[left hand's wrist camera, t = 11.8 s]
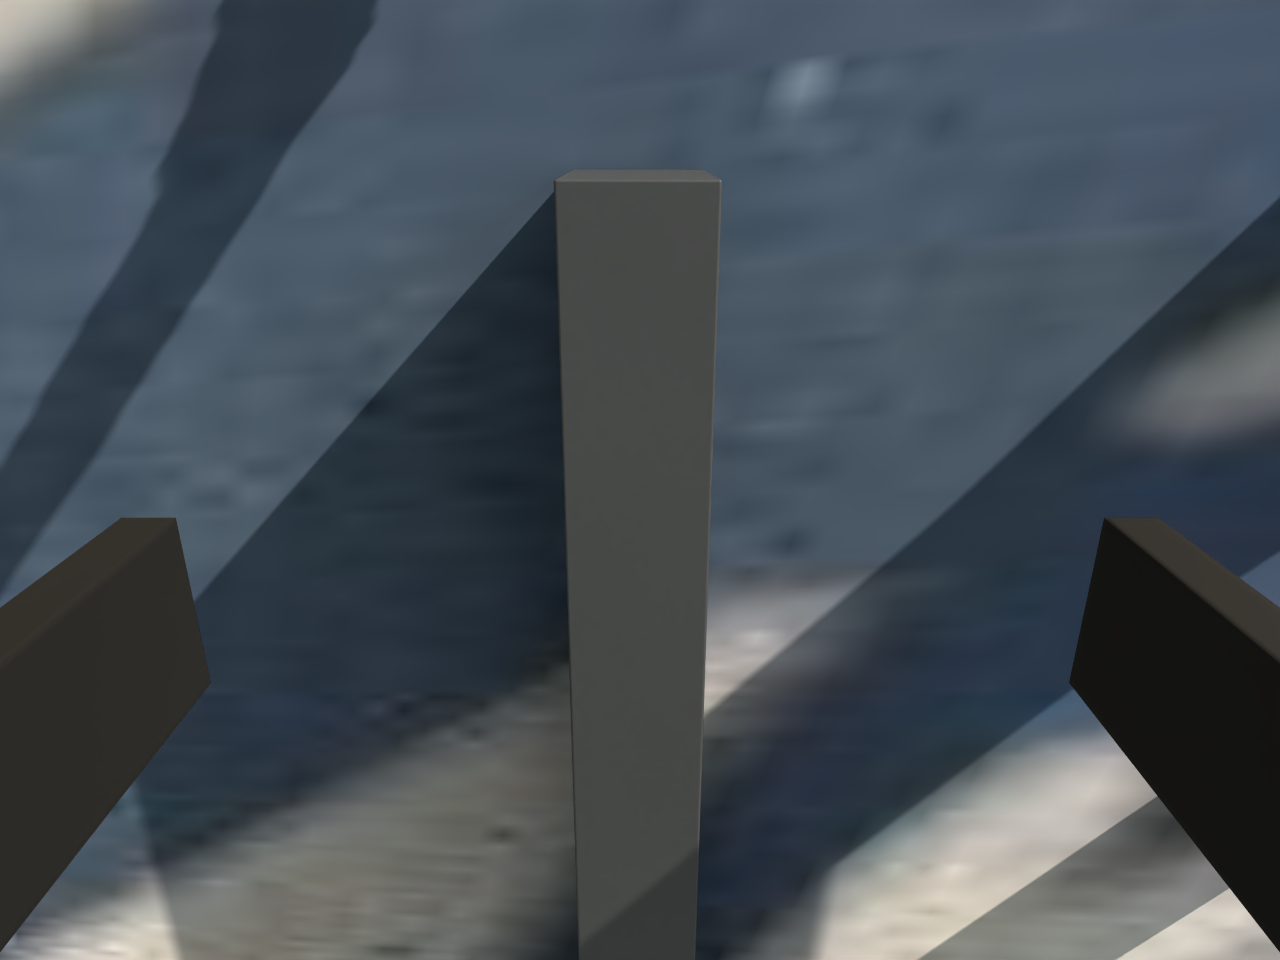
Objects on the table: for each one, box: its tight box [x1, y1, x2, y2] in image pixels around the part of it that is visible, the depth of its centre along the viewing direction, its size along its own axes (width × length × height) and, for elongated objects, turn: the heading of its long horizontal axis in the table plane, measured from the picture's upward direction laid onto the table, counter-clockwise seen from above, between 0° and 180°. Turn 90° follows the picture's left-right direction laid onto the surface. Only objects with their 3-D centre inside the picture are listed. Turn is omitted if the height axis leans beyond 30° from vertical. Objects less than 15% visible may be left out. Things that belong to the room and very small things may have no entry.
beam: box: [554, 170, 722, 960], centre depth 40 cm, size 56×5×8 cm, turn 0°
